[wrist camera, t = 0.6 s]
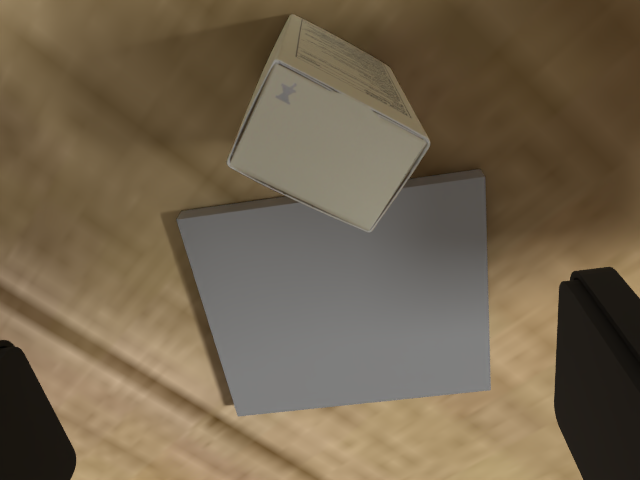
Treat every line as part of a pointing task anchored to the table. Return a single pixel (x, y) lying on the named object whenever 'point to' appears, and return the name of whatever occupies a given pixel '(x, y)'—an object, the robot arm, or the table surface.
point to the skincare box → (329, 127)
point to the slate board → (347, 297)
